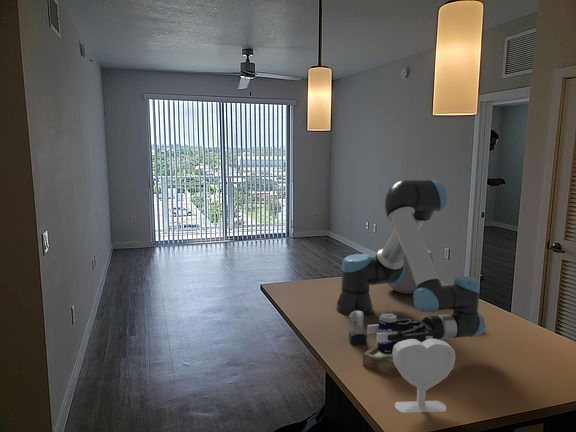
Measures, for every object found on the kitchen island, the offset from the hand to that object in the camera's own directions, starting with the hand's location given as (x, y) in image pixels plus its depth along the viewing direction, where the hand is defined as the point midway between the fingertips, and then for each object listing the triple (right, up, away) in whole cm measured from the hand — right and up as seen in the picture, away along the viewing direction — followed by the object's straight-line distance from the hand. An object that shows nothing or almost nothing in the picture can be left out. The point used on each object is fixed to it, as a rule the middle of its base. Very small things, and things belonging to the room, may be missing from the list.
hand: (372, 333), depth 136 cm
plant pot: (+31, -1, +78) cm, 84 cm away
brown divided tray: (+8, -10, +6) cm, 14 cm away
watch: (-2, -8, +20) cm, 21 cm away
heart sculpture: (+9, -14, -20) cm, 26 cm away
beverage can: (+5, -7, +2) cm, 9 cm away
